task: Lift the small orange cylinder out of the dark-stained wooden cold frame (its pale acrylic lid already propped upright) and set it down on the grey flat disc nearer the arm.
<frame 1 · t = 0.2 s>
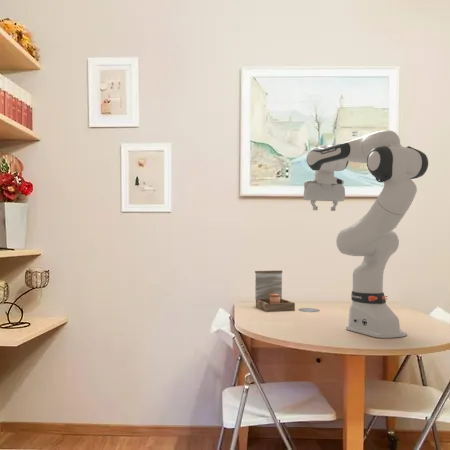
hand: (324, 210, 191), 47 cm above the table, fingers open, 8 cm apart
grey flat disc: (309, 311, 195), on the table
orange cylinder: (274, 308, 198), resting on cold frame
cold frame: (274, 309, 198), on the table
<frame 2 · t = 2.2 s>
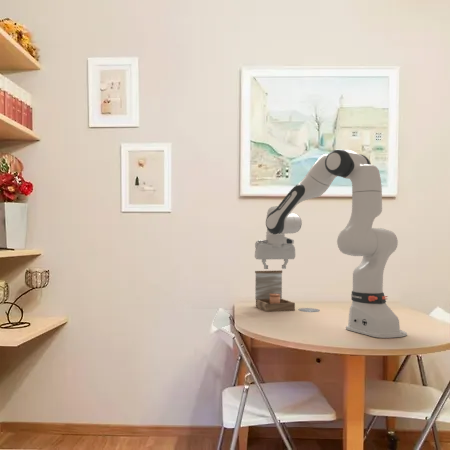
hand: (274, 268, 199), 20 cm above the table, fingers open, 8 cm apart
nothing on the table moved.
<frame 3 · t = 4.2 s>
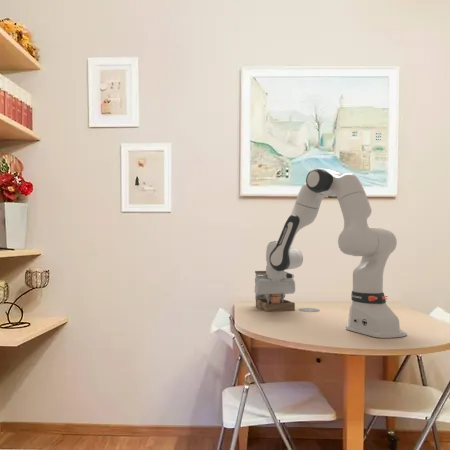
hand: (274, 303, 198), 3 cm above the table, fingers closed on orange cylinder, 5 cm apart
orange cylinder: (274, 308, 198), resting on cold frame, touching gripper
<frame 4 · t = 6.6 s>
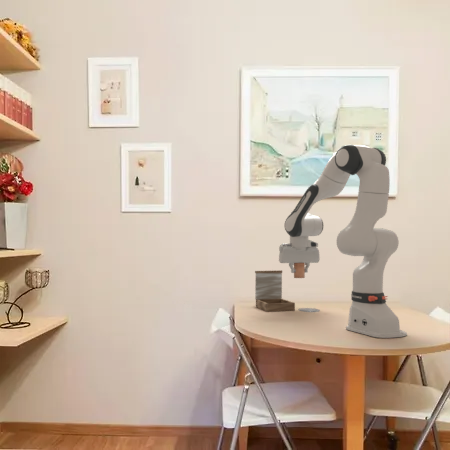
hand: (299, 272, 196), 18 cm above the table, fingers closed on orange cylinder, 5 cm apart
orange cylinder: (299, 277, 196), point 16 cm above the table, touching gripper
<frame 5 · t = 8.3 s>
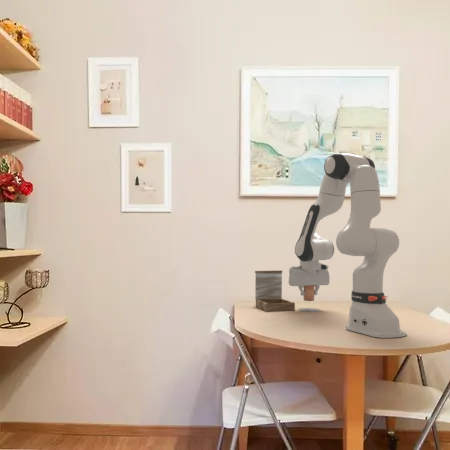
hand: (309, 295, 195), 8 cm above the table, fingers closed on orange cylinder, 5 cm apart
orange cylinder: (308, 300, 195), point 5 cm above the table, touching gripper
when the fingers open (4 cm above the table, at t = 9.3 s): orange cylinder drops 1 cm, resting on grey flat disc.
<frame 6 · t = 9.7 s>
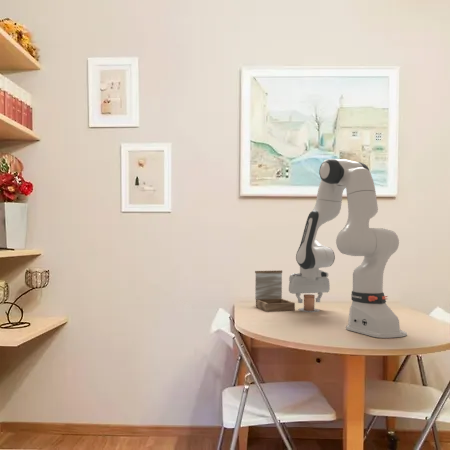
hand: (309, 302, 195), 4 cm above the table, fingers open, 8 cm apart
orange cylinder: (309, 309, 195), point 1 cm above the table, touching grey flat disc
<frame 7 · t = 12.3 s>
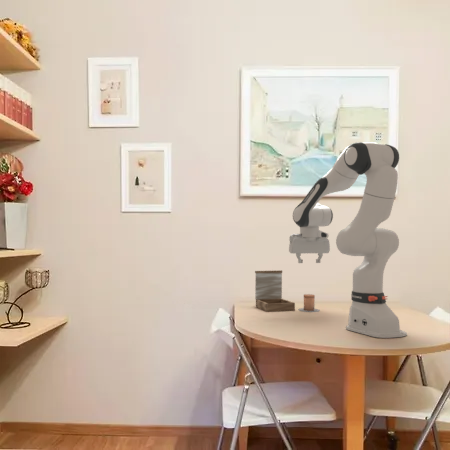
hand: (309, 263, 195), 23 cm above the table, fingers open, 8 cm apart
nothing on the table moved.
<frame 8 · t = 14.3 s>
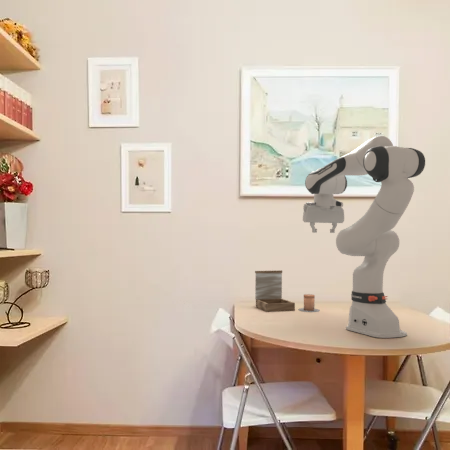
hand: (323, 232, 191), 37 cm above the table, fingers open, 8 cm apart
nothing on the table moved.
at the end: orange cylinder 0.0 cm from the grey flat disc (horizontally); orange cylinder tilted 0°; orange cylinder point 0.6 cm above the table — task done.
